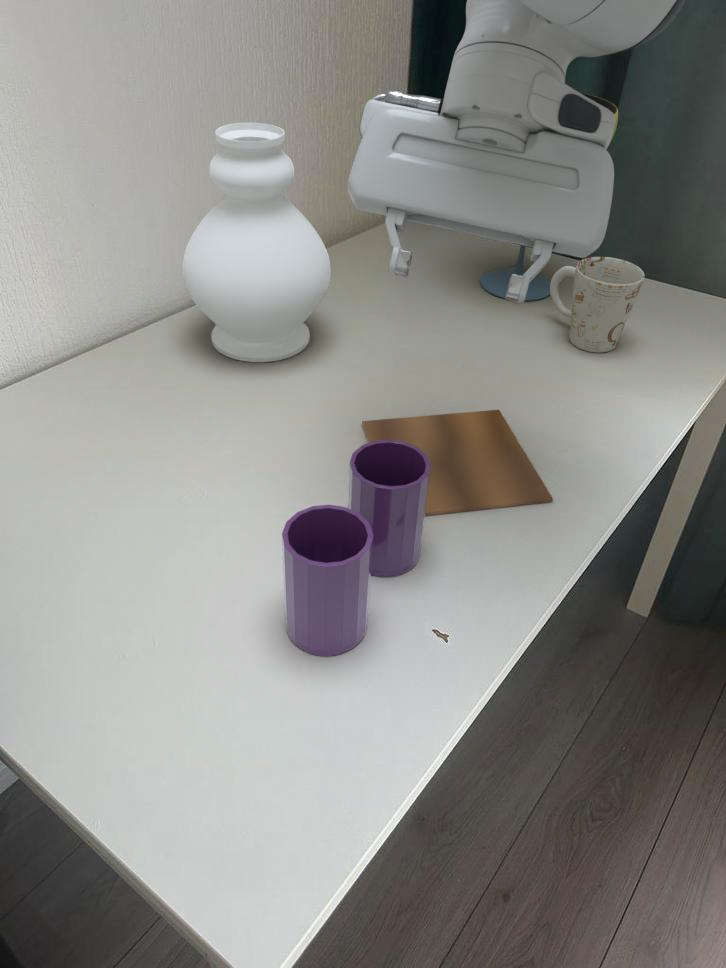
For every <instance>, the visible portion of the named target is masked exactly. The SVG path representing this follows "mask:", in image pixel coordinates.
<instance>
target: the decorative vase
mask: <svg viewBox="0 0 726 968" xmlns="http://www.w3.org/2000/svg"><path fill="white" fill-rule="evenodd" d="M214 134H215V135H214V136H215V141H216V142H217V143H218V144H219V145H221V146H224V147H222V148H220V150H218V151H217V153H216V154H215V155H214V156H213V158H212V159H211V160H210V163H209V167H208V171H209V172H208V173H209V177H210V179H211V181H212V182H213V184H215V186H216V187H217V189H219V190H220V191H222V192H223V193H224V195H223V196H222V197H221V198H220V199H219V200H218V201H217V202H216V203H215V204H214V205H213V207H212V208H211V209H210V210H209V211H208V212H207V213H206V214H205V216H204V217H203V218H202V220H201V221H200V222H199V223H198V224H197V226H196V228H195V229H194V231H193V233H192V235H191V237H190V238H189V240H188V242H187V245H186V246H185V251H184V253H183V257H182V279H183V280H182V281H183V284H184V287H185V289H186V292H187V294H188V296H189V297H190V299H191V300H192V301H193V303H194V304H195V305H196V306H197V307H198V309H199V310H200V311H201V312H202V313H203V314H204V315H205V316H206V317H208V318H209V319H210V320H211V321H212V322H213V323H214V324H215V326H214V327H213V329H212V331H211V333H210V334H211V335H210V337H211V343H212V346H213V347H214V348H215V350H216V351H217V352H219V353H220V354H222V355H223V356H225V357H228V358H231V359H234V360H238V361H241V362H247V363H248V362H250V363H270V362H276V361H282V360H285V359H288V358H292V357H294V356H296V355H298V354H299V353H300V352H302V351H304V349H305V348H306V347H307V346H308V345H309V342H310V337H311V335H310V333H311V332H310V329H309V327H308V326H307V325H306V323H304V322H305V321H306V320H307V319H308V318H309V317H310V316H311V315H312V313H313V312H314V311H315V310H316V309H317V308H318V307H319V305H320V304H321V302H322V301H323V299H324V298H325V296H326V295H327V292H328V290H329V287H330V284H331V276H332V275H331V274H332V272H331V260H330V257H329V253H328V250H327V248H326V245H325V243H324V241H323V240H322V238H321V236H320V235H319V233H318V232H317V230H316V229H315V227H314V226H313V225H312V223H310V221H309V220H308V219H307V217H306V216H305V215H304V214H303V213H302V212H301V211H300V210H299V209H298V208H297V207H296V206H295V205H294V204H293V203H291V201H289V199H287V198H286V197H285V196H284V195H283V194H282V193H284V191H285V190H286V189H288V187H289V186H290V185H291V183H292V182H293V180H294V178H295V173H296V172H295V166H294V163H293V160H292V159H291V158H290V157H289V155H288V154H287V153H286V152H284V151H283V150H282V149H281V148H280V147H278V146H280V145H282V144H283V143H284V142H285V140H286V131H285V130H284V129H283V128H282V127H280V126H277V125H275V124H274V125H273V124H270V123H263V122H251V121H250V122H248V121H247V122H235V123H229V124H224V125H222V126H219V127H218V128H216V129H215V132H214Z"/></svg>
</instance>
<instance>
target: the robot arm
mask: <svg viewBox="0 0 726 968" xmlns="http://www.w3.org/2000/svg"><path fill="white" fill-rule="evenodd" d="M685 2H686V0H466V4H465V28H464V33H463V35H462V38H461V40H460V42H459V43H458V45H457V47H456V49H455V51H454V54H453V56H452V57H453V58H452V61H451V66H450V70H449V74H448V78H447V83H446V87H445V90H444V96H443V98H438V97H432V96H427V95H422V94H421V95H419V94H410V93H405V92H404V91H400V90H397V89H387V90H386V91H385V93H380V94H377V95H374V96H373V97H371V98H370V99H369V100H368V101H366V103H365V105H364V107H363V110H362V114H361V118H360V123H359V127H358V128H359V129H358V133H359V137H360V139H361V140H360V143H359V146H358V148H357V151H356V154H355V157H354V159H353V163H352V165H351V169H350V172H349V175H348V176H349V177H348V180H347V192H348V195H349V198H350V199H351V201H352V203H353V204H354V206H355V208H356V209H357V210H359V211H363V212H366V213H371V214H376V215H379V216H380V215H381V216H385V220H384V224H385V228H386V232H387V237H388V239H389V242H390V247H391V249H392V252H391V256H390V261H389V264H388V265H389V266H388V274H389V275H392V276H396V277H402V278H405V279H406V278H408V276H409V272H410V269H409V267H410V266H411V263H412V258H413V255H412V251H411V250H406V249H402V246H401V242H400V238H399V235H398V233H400V234H401V233H404V232H405V229H406V224H407V221H408V222H414V223H416V224H417V223H418V224H422V225H427V226H430V227H431V226H432V227H435V228H441V229H446V230H450V231H455V232H459V233H464V234H469V235H473V236H479V237H482V238H487V239H492V240H496V241H501V242H507V243H511V244H516V245H519V246H521V245H524V246H526V247H529V248H532V249H531V254H530V257H529V260H530V261H531V262H533V263H532V264H531V265H530V266H529V268H528V269H527V270H526V272H525V273H524V274H523V275H522V276H521V275H516V274H512V275H511V278H510V281H509V285H508V290H507V293H506V297H505V299H504V300H506V301H510V302H515V303H517V304H524V303H525V301H524V300H525V297H526V294H527V290H528V286H529V282H531V280H532V279H533V278H534V277H535V276H536V275H537V274H540V273H541V272H542V270H543V269H544V268H545V267H546V266H547V265H548V263H549V261H550V259H551V258H552V257H551V256H552V253H557V254H562V255H566V256H571V257H575V258H581V259H586V258H588V256H590V255H591V254H593V253H594V252H596V251H597V250H598V249H599V248H600V246H601V245H602V243H603V242H604V239H605V236H606V232H607V228H608V226H609V225H608V224H609V220H610V214H611V208H612V203H613V194H614V184H615V183H614V181H615V166H614V161H613V159H612V156H611V154H610V152H609V151H608V148H609V146H610V143H611V142H612V140H613V138H612V136H613V132H614V128H615V122H616V118H615V115H614V114H613V113H612V112H611V111H610V110H609V109H607V108H605V107H604V106H602V105H600V104H598V103H596V102H595V101H593V100H591V99H589V98H588V97H586V96H584V95H582V94H581V93H582V92H580V91H577V90H576V89H575V88H573V87H571V86H569V85H568V84H567V83H566V75H567V70H568V67H569V65H570V64H571V62H572V61H573V60H575V59H576V58H580V57H581V58H583V59H598V58H599V59H600V58H603V57H608V56H612V55H616V54H619V53H624V52H627V51H630V50H632V49H635V48H638V47H640V46H642V45H644V44H646V43H649V41H651V40H652V39H655V37H657V36H658V35H660V34H661V33H662V32H664V31H665V30H666V29H667V28H668V27H669V26H670V24H671V23H672V22H673V21H674V19H676V17H677V15H678V14H679V12H680V11H681V9H682V7H683V6H684V4H685ZM579 92H580V93H579ZM383 100H384V101H383ZM613 137H614V136H613ZM611 139H612V140H611ZM610 141H611V142H610Z"/></svg>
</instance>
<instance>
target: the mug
mask: <svg viewBox="0 0 726 968" xmlns="http://www.w3.org/2000/svg"><path fill="white" fill-rule="evenodd" d="M566 277H571V278H574V280H573V293H572V304H571V310H570V309H568V308H567V307H565V305H564V304H563V302H562V301H561V298H560V294H559V286H560V283H561V281H562V280H563V279H565V278H566ZM644 280H645V272H644V271H643V270H642V268H640V267H639V266H638V265H636V264H634V263H632V262H630V261H627V260H624V259H620V258H615V257H608V256H590V257H585V258H582V259H581V260H579V261H578V262H577V263H576V266H571V265H565V266H563V267H561V268H559V269H558V270H556V271H555V273H554V275H553V276H552V277H551V280H550V282H551V283H550V298H551V301H552V303H553V304H554V306H555V307H556V310H558V312H559V313H560V314H562V315H563V316H565V317H568V318H570V327H569V341H570V343H571V344H572V345H573V346H574V347H576V348H578V349H580V350H583V351H586V352H589V353H608V352H610V351H613V350H614V349H615V348H616V346H617V343H618V341H619V339H620V337H621V335H622V332H623V331H624V327H625V325H626V323H627V321H628V318H629V316H630V313H631V311H632V309H633V307H634V304H635V303H636V299H637V297H638V295H639V293H640V291H641V288H642V286H643V283H644Z"/></svg>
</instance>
